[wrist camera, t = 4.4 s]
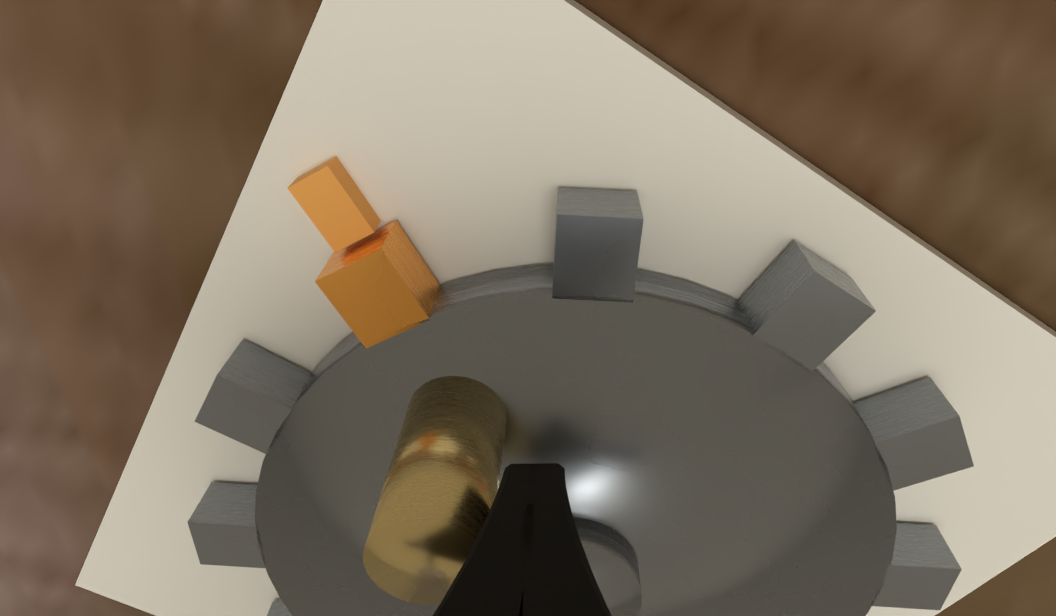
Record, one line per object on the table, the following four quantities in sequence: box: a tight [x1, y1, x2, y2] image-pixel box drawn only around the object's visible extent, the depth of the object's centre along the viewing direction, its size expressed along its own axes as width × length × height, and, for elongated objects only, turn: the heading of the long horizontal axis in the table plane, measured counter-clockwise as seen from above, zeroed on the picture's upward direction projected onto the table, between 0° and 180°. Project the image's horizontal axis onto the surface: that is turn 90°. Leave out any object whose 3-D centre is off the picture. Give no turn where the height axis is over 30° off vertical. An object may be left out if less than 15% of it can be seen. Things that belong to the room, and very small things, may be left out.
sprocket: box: [187, 187, 974, 616], centre depth 17 cm, size 19×19×5 cm
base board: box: [75, 0, 1056, 616], centre depth 19 cm, size 22×22×2 cm
